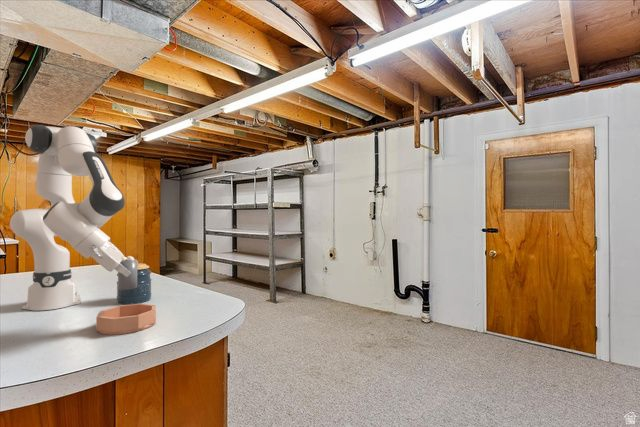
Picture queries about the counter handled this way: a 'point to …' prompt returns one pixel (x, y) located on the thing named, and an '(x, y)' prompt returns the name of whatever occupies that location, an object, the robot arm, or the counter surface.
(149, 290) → the canister
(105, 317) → the terracotta bowl
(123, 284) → the pebble cup
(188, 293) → the counter surface
